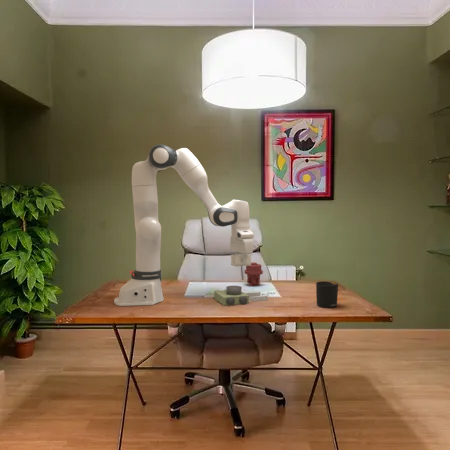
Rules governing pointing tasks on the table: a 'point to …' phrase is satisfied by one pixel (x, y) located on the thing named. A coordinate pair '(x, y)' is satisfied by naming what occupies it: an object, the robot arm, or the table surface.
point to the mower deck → (237, 296)
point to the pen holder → (326, 294)
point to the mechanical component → (253, 274)
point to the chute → (240, 260)
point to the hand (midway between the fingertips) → (241, 261)
